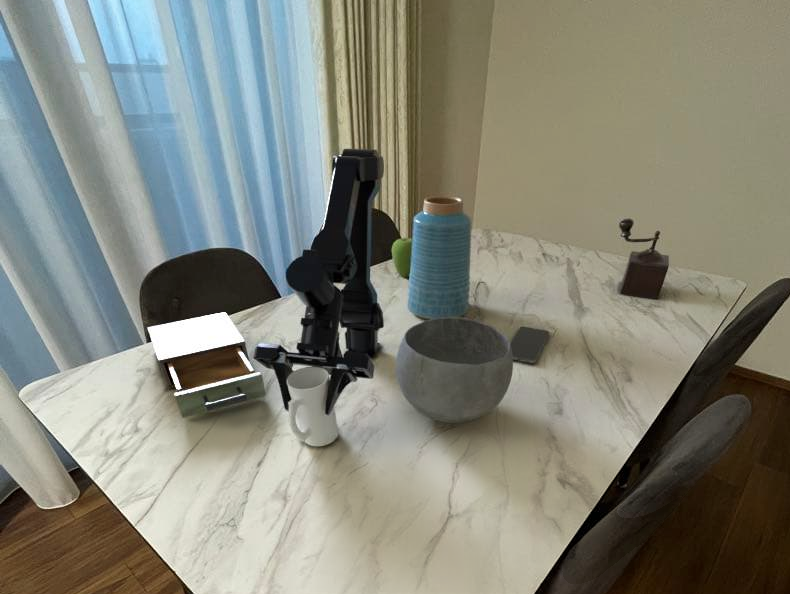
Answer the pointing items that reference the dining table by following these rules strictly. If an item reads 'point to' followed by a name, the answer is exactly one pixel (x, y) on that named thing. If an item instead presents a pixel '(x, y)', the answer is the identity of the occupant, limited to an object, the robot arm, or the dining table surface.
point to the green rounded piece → (402, 255)
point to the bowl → (454, 368)
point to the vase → (440, 259)
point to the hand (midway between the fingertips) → (307, 412)
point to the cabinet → (193, 339)
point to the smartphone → (528, 344)
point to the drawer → (214, 381)
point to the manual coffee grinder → (643, 267)
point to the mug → (311, 406)
